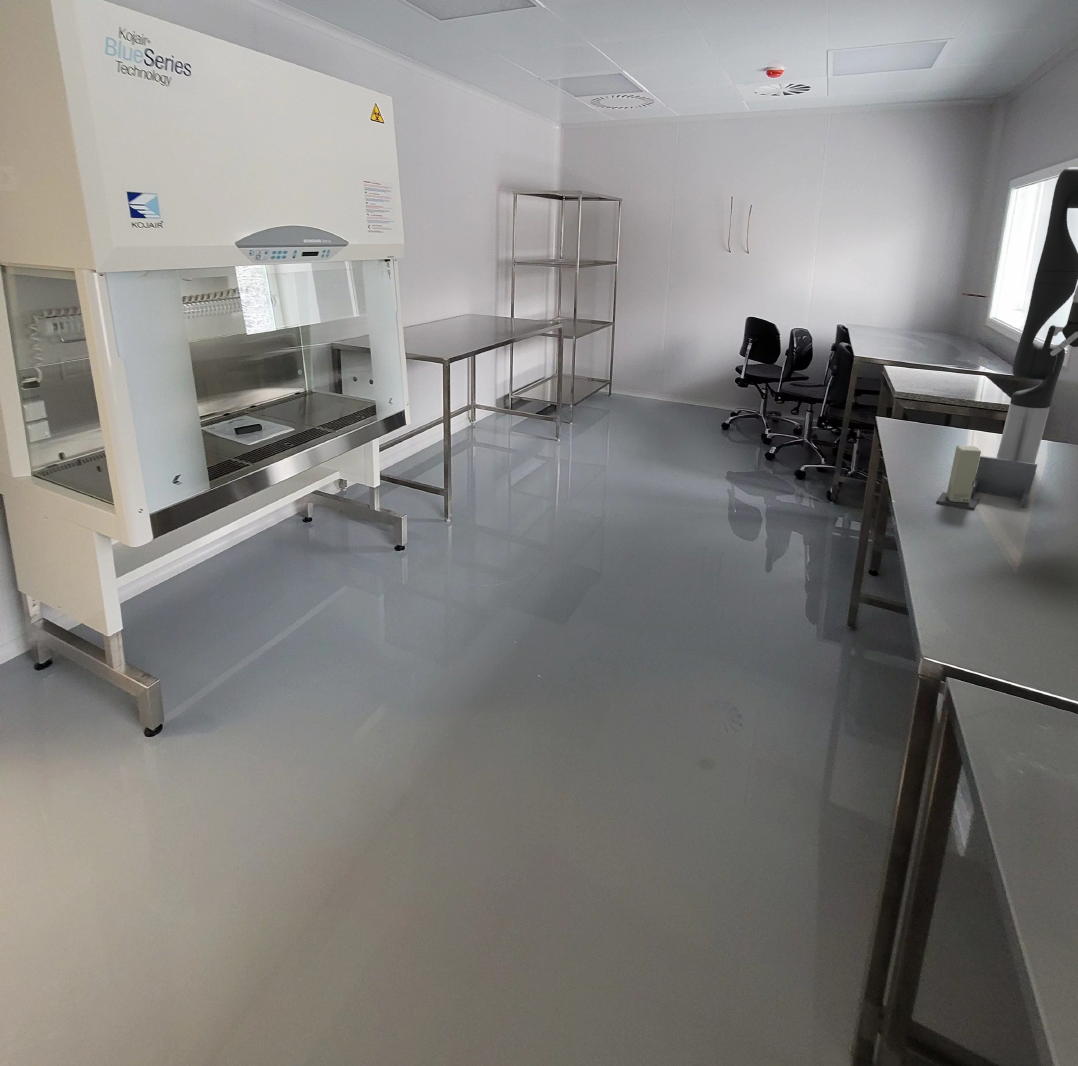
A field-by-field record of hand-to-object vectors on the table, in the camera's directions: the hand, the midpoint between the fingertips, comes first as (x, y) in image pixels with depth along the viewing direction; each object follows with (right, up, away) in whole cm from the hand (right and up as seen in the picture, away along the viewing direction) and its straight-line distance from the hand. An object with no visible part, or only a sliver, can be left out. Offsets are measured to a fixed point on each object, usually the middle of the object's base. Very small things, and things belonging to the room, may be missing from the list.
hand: (1073, 373), depth 170 cm
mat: (-23, -29, +7) cm, 38 cm away
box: (-23, -29, +7) cm, 38 cm away
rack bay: (-12, -29, +9) cm, 32 cm away
